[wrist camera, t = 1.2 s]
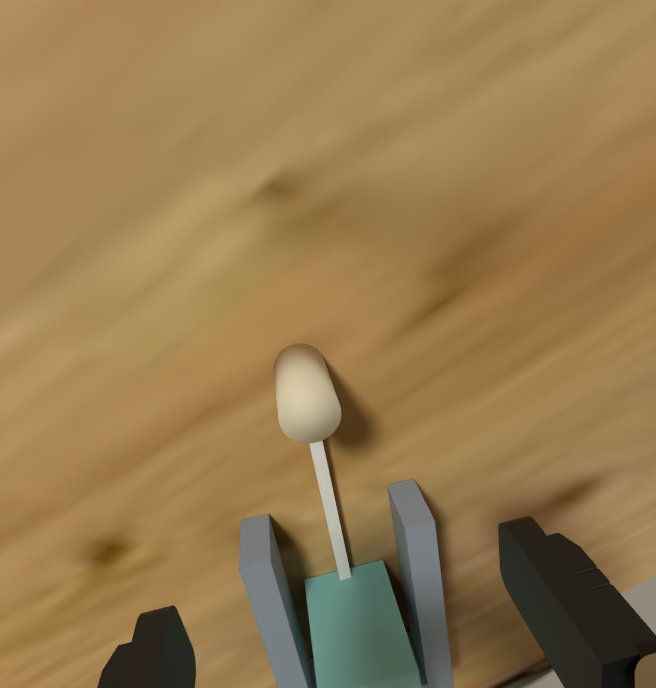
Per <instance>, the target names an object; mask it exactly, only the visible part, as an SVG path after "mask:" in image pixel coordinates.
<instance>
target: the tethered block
mask: <svg viewBox="0 0 656 688" xmlns="http://www.w3.org/2000/svg"><path fill="white" fill-rule="evenodd" d="M274 375H275V386H276V397H277V408H278V419H279V424H280V427H281V429H282V431H283V432H284V433H285V434H286V436H288V437H289V438H290V439H292V440H294V441H296V442H300V443H309V444H310V448H311V453H312V457H313V462H314V466H315V470H316V475H317V479H318V484H319V488H320V493H321V497H322V502H323V506H324V510H325V515H326V519H327V524H328V528H329V533H330V537H331V542H332V546H333V550H334V555H335V559H336V564H337V568H338V571H336V572H332V573H328V574H324V575H320V576H316V577H312V578H308V579H304V581H305V590H306V598H307V606H308V615H309V623H310V632H311V640H312V649H313V657H314V666H315V674H316V683H317V688H421V683H420V676H419V670H418V667H417V664H416V661H415V658H414V655H413V652H412V649H411V645H410V642H409V639H408V636H407V633H406V630H405V627H404V624H403V621H402V618H401V614H400V611H399V608H398V605H397V602H396V599H395V596H394V593H393V590H392V586H391V583H390V580H389V577H388V574H387V571H386V568H385V565H384V562H383V560H380V561H376V562H372V563H368V564H364V565H360V566H356V567H352V568H349V563H348V559H347V554H346V549H345V545H344V540H343V535H342V530H341V526H340V521H339V516H338V512H337V507H336V502H335V497H334V493H333V488H332V483H331V479H330V474H329V469H328V465H327V460H326V455H325V450H324V446H323V441H322V440H324V439H326V438H328V437H329V436H330V435H332V434H333V433H334V431H335V430H336V429H337V427H338V425H339V423H340V420H341V407H340V404H339V401H338V398H337V396H336V393H335V390H334V387H333V384H332V381H331V378H330V376H329V373H328V370H327V367H326V364H325V361H324V359H323V356H322V355H321V353H320V352H319V351H318V350H317V349H316V348H314V347H312V346H310V345H307V344H294V345H291V346H288V347H287V348H285V349H284V350H282V351H281V352H280V353H279V355H278V356H277V358H276V360H275V364H274Z"/></svg>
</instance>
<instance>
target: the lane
mask: <svg viewBox="0 0 656 688" xmlns="http://www.w3.org/2000/svg"><path fill="white" fill-rule="evenodd" d="M387 487H388V493H389V499H390V506H391V512H392V518H393V525H394V531H395V537H396V544H397V550H398V556H399V563H400V569H401V575H402V582H403V588H404V594H405V601H406V607H407V613H408V620H409V626H410V632H407V636H408V639H409V642H410V645H411V649H412V652H413V655H414V658H415V661H416V664H417V667H418V670H419V676H420V683H421V688H454V683H453V674H452V666H451V657H450V648H449V640H448V631H447V622H446V614H445V605H444V596H443V588H442V579H441V570H440V562H439V553H438V544H437V535H436V527H435V520H434V518H433V516H432V514H431V512H430V510H429V508H428V506H427V504H426V502H425V500H424V498H423V496H422V494H421V492H420V490H419V488H418V486H417V484H416V482H415V480H414V479H412V480H407V481H403V482H399V483H395V484H391V485H387ZM239 571H240V574H241V577H242V580H243V583H244V586H245V589H246V592H247V595H248V598H249V601H250V604H251V607H252V610H253V613H254V616H255V619H256V622H257V625H258V628H259V631H260V634H261V637H262V640H263V643H264V646H265V649H266V652H267V655H268V658H269V661H270V664H271V667H272V670H273V673H274V676H275V679H276V682H277V685H278V688H317V683H316V674H315V666H314V657H313V658H309V655H308V651H307V648H306V644H305V641H304V637H303V634H302V630H301V627H300V623H299V619H298V616H297V612H296V609H295V605H294V602H293V598H292V595H291V591H290V588H289V584H288V581H287V577H286V573H285V570H284V566H283V563H282V559H281V556H280V552H279V549H278V545H277V542H276V538H275V534H274V531H273V527H272V524H271V520H270V517H269V514H266V515H262V516H258V517H254V518H250V519H246V520H242V521H241V534H240V559H239Z"/></svg>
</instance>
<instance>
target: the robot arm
mask: <svg viewBox="0 0 656 688" xmlns="http://www.w3.org/2000/svg"><path fill="white" fill-rule="evenodd" d="M498 533H499V555H500V570H501V575H502V578H503V581H504V584H505V587H506V589H507V591H508V593H509V595H510V597H511V599H512V600H513V602H514V604H515V605H516V607H517V609H518V610H519V612H520V614H521V615H522V617H523V619H524V620H525V622H526V624H527V625H528V627H529V629H530V630H531V632H532V634H533V635H534V637H535V639H536V641H537V642H538V644H539V646H540V647H541V649H542V651H543V652H544V654H545V656H546V657H547V659H548V661H549V662H550V664H551V666H552V667H553V669H554V671H555V672H556V674H557V676H558V677H559V679H560V681H561V683H562V684H563V686H564V687H565V688H656V635H655V634H654V633H653V632H652V630H650V628H649V627H648V626H647V625H646V623H645V622H644V621H643V620H642V619H641V618H640V616H639V615H638V614H637V613H636V612H635V610H634V609H633V608H632V607H631V606H630V605H629V604H628V602H627V601H626V600H625V599H624V598H623V596H622V595H621V594H620V593H619V592H618V591H617V589H616V588H615V587H614V586H613V585H611V584H610V582H609V580H608V579H607V578H606V577H605V575H604V574H603V573H602V572H601V571H600V569H597V567H596V565H595V564H594V562H593V561H592V560H591V559H590V558H589V557H588V555H587V554H586V553H585V552H584V551H583V550H582V548H581V547H580V546H578V545H577V544H575V543H574V542H572V541H570V540H569V539H567V538H566V537H564V536H563V535H561V534H559V533H556V534H552V535H548V536H547V535H546V534H545V533H544V532H543V530H542V529H541V528H540V527H539V525H538V524H537V523H536V521H535V520H534V519H533V518H531V517H530V516H526V517H523V518H519V519H515V520H511V521H507V522H503V523H500V524H499V527H498ZM195 678H196V663H195V655H194V651H193V647H192V645H191V642H190V640H189V637H188V635H187V632H186V630H185V628H184V625H183V623H182V620H181V618H180V616H179V613H178V611H177V609H176V607H175V606H169V607H165V608H161V609H157V610H153V611H149V612H145V613H142V614H140V615H139V617H138V619H137V623H136V626H135V630H134V634H133V638H132V642H130V643H126V644H122V645H118V647H117V648H116V650H115V651H114V653H113V655H112V656H111V658H110V659H109V661H108V662H107V664H106V666H105V667H104V669H103V670H102V674H101V677H100V680H99V684H98V687H97V688H195Z"/></svg>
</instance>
